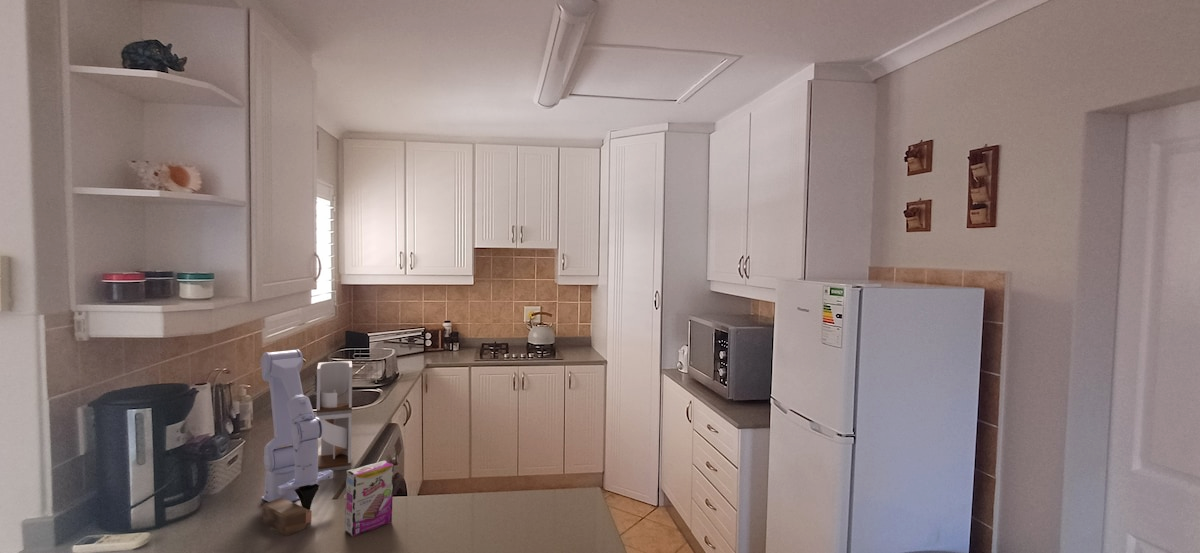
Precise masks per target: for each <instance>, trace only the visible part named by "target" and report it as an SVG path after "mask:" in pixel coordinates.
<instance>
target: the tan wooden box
mask: <svg viewBox="0 0 1200 553" xmlns="http://www.w3.org/2000/svg"><path fill="white" fill-rule="evenodd" d="M299 505H300V504H298V505H297V503H295V502H294V501H292V502H291V501H288V500H286V499H284V498H279V499H276V500H273V501H270V502H268V501H266V502H265V503H262V523H263V524H265V525H266V526H267V527H269V528H272V529H273V530H275V531H277V532H278V533H281V534H283V535H284V536H286V537H287V536H290V535H292V534H294V533H298V532H300V531H301V530H305V529H307V528H306V527H307V524H306V509H305V508H303V507H301V506H302V505H300V506H299Z"/></svg>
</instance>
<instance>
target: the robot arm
mask: <svg viewBox="0 0 1200 553" xmlns="http://www.w3.org/2000/svg"><path fill="white" fill-rule="evenodd" d="M260 360H261V361H260V368H261V377H262V380H263V381H264V382H268V384H269V391H270V393H269V394H270V402H271V413H272V426H273V435H274V437H273V438H272V439H271V440H270V441H269V442H267V443H266V445H265V446H264V449H263V450H264V455H263V464H264V468H265V471H266V473H265V476H264V495H262V496H261V499H262V500H264V501H266V502H270V501H273V500H276V499H279V498H284V499H286V500H288V501H291V502H294V501H297V500H299V502H300V504H301V506H302V507H304V508H306V509H308V510H310V511H311V507H312V503H313V501H314V498H315V495H317V492H318V490H319V488H320V485H319V484H318V483H319V482H322V481H324V480H327V479H333V478H334V471H331V470H326V471H322V472H318V455H319V439H320V438H321V436H322V423H321V420H320V419H319V418H318V417H317V414H315V413H314V410H313V406H312V403H311V400H310V397H308V396H307V395H304V392H303V391H304V390H303V387H302V386H303V384H302V381H301V376H300V373H301V371H302V367H303V363H304V356H303V353H302V351H301V350H300V349H299V348H296V349H288V350H281V351H271V352H270V351H269V352H268V351H265V352H264V353H263V354H262V356H261V358H260Z"/></svg>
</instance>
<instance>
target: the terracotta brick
mask: <svg viewBox="0 0 1200 553" xmlns="http://www.w3.org/2000/svg"><path fill="white" fill-rule="evenodd" d="M296 504H297V503H296ZM297 505H299V506H301V507H302V505H300V504H297ZM303 508H304V507H303ZM305 509H306V508H305ZM309 523H312V510H311V509H310V510H308V509H306V525H307V524H309Z"/></svg>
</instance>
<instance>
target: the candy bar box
mask: <svg viewBox="0 0 1200 553" xmlns="http://www.w3.org/2000/svg"><path fill="white" fill-rule="evenodd" d="M394 468H395V467H394V464H393V463H391V462H390V461H388V460H381V461H378V462H373V463H370V464H367V465H362V466H360V467H355V468H351V469H346V472H345V473H346V478H345V509H344V510H345V512H344V513H345V516H344V532H346V533H347V534H348V535H350V536H351V537H357V536H359V535H360V534H364V533H367V532H369V531H372V530H375V529H377V528H380V527H383V526H385V525H388V524H391V523H392V522H393V493H394V492H393V491H394V490H393V489H394V487H393V486H394Z"/></svg>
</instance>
